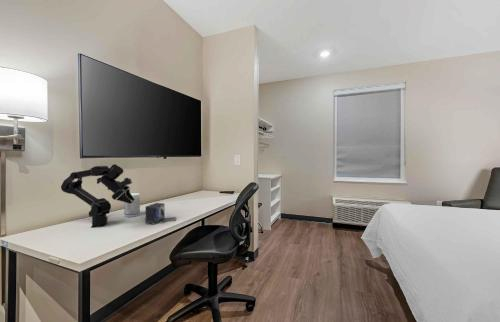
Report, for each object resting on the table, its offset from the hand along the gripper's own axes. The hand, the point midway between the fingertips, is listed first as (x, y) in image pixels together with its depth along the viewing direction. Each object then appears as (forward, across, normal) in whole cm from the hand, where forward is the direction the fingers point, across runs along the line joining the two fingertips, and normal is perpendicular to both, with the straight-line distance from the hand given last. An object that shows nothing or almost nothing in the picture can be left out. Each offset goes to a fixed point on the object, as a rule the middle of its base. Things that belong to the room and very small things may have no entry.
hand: (132, 201), depth 123 cm
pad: (+24, +2, -5) cm, 25 cm away
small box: (+18, 0, 0) cm, 18 cm away
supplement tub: (+7, +20, +12) cm, 25 cm away
